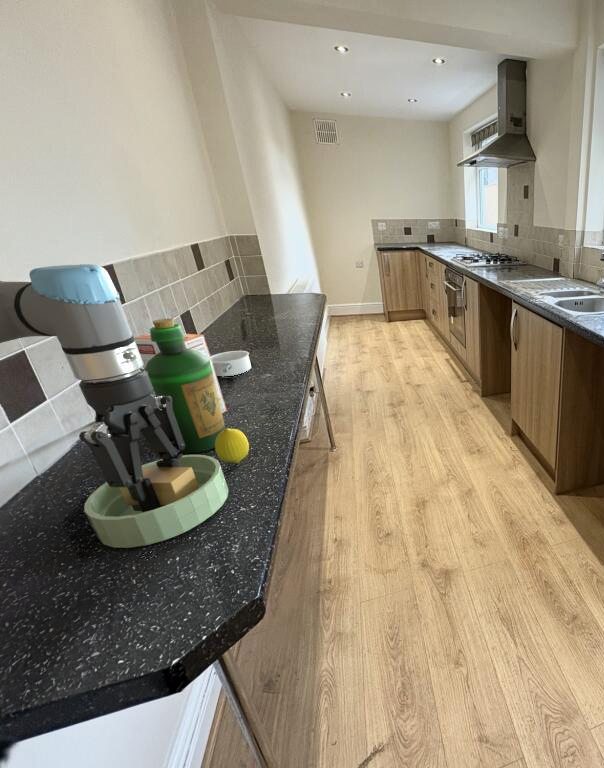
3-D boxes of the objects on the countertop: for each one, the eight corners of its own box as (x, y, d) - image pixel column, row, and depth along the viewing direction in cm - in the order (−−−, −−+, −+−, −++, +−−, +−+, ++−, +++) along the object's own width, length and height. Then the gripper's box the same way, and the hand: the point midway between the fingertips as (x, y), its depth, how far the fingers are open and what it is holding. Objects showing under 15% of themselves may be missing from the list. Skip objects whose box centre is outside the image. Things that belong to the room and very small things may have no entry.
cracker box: (160, 418, 102) (129, 337, 94) (181, 407, 108) (154, 330, 100) (209, 422, 100) (181, 340, 92) (228, 411, 106) (204, 333, 97)
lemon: (248, 452, 87) (239, 419, 84) (256, 463, 84) (246, 428, 81) (218, 462, 84) (207, 428, 81) (224, 474, 80) (213, 438, 77)
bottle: (234, 447, 89) (195, 322, 78) (173, 463, 84) (122, 330, 73) (232, 428, 97) (197, 312, 87) (176, 441, 92) (131, 318, 81)
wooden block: (130, 512, 67) (116, 482, 65) (152, 495, 71) (140, 466, 69) (182, 512, 67) (170, 482, 65) (202, 495, 71) (191, 467, 69)
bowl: (67, 549, 62) (50, 518, 60) (161, 480, 78) (150, 453, 76) (178, 552, 62) (165, 520, 59) (250, 482, 78) (242, 455, 75)
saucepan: (206, 391, 117) (200, 373, 115) (213, 370, 134) (208, 354, 131) (252, 384, 123) (247, 366, 120) (253, 364, 139) (249, 348, 137)
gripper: (77, 399, 52) (143, 540, 61) (183, 355, 68) (223, 472, 77) (20, 398, 52) (94, 540, 61) (139, 355, 68) (184, 472, 77)
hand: (166, 502), depth 69 cm, fingers closed on wooden block, 4 cm apart
